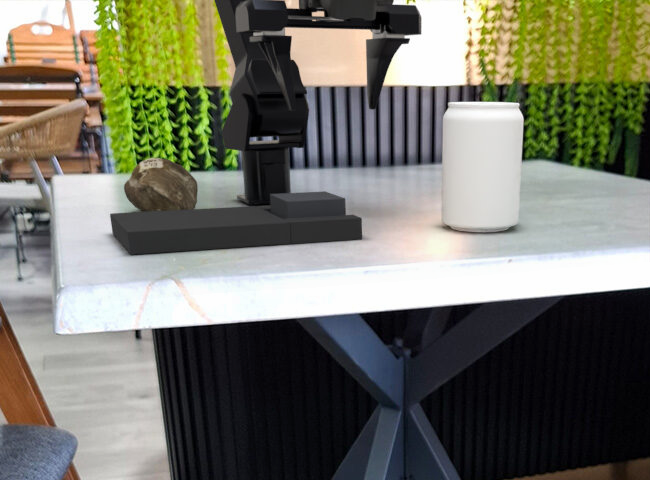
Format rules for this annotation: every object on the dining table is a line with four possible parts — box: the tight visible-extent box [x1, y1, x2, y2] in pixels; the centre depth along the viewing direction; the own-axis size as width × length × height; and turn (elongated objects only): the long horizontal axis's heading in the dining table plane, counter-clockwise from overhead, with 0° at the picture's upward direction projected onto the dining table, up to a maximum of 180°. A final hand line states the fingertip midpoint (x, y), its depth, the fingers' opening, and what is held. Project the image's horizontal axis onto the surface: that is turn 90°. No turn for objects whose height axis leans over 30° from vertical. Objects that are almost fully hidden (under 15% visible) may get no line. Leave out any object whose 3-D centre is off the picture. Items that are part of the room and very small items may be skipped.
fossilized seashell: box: [123, 157, 199, 212], centre depth 100 cm, size 8×7×10 cm
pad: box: [269, 191, 347, 219], centre depth 90 cm, size 6×6×4 cm
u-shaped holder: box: [109, 204, 363, 256], centre depth 88 cm, size 12×22×2 cm, turn 114°
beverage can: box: [440, 101, 525, 233], centre depth 92 cm, size 8×8×12 cm
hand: (333, 109), depth 97 cm, fingers open, 9 cm apart
